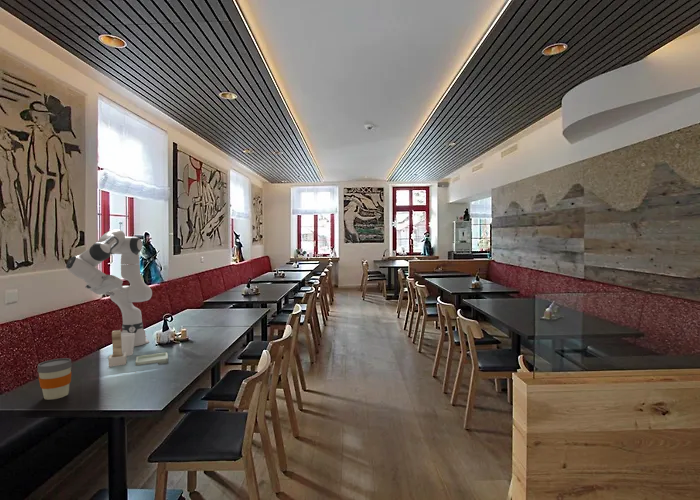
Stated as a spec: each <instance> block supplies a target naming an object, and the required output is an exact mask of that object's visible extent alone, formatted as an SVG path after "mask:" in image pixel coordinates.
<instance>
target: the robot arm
mask: <svg viewBox="0 0 700 500" xmlns="http://www.w3.org/2000/svg"><path fill="white" fill-rule="evenodd" d="M142 249H143V241H142V239H141V238H140V237H138V236H126V234H125V232H124V231H123V230H121V229H118V228H113V229H111V230H109V231H107V232H105V233H103V235H101V237H100V238H99V239H98V240H97V242H95V243H93V244H92V245H91V246H90V247H88V248H87V249H86V250H84V251H82V253H80V254H78V255H73V256H71V257H70V258H69V259H68V260H67V262H66V265H65V269H66V270H68V272H69V273H71V274H72V275H74V276H75V277H77V278H78V279H81V280H83V281H84V282H85V289H87V290H89V291H91V292H93V293H94V294H97V295H102V294H105V295H107V296H109V299H110V300H111V301H112V302H113V303H115V304H116V305H117V306H118V308H119V309H120V312H121V315H122V325H121V328H122V329H121V334H123V333H135V338H134V347H139V346H142V345H143V346H144V345H145V344H150V340H149V339H148V338H147V334H146V330H145V329H144V323H143V319H142V318H143V317H142V311H141V309H140V308H138V307H136V306H135V305H134V304H133V303H142V302H143V303H144V302H146V301H149V300H151V298H152V296H153V290H152V288H151V287H150V285H148V284H146V283H145V281H144V280H143V279H142V276H141V266H140V264H141V263H140V262H141V261H140V254H139V253H140V252H141V251H142ZM111 255H121V257H120V276H121V277H122V279H121V278H119V277H117V276H116V275H113V274H106V273H105V272H103V271H102V270H100V269H99V268H96V267H97V266H98V265H99V264H101V263H103V262H104V261H106V260H107V259H109V258H110V257H111ZM123 280H125V281H128V283H129V285H123V283H124V281H123Z"/></svg>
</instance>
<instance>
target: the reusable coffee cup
mask: <svg viewBox="0 0 700 500" xmlns="http://www.w3.org/2000/svg"><path fill="white" fill-rule="evenodd" d="M72 366H73V364H72V359H71V358H67V357H65V358H62V357H60V358H53V359H49V360H46V361H43V362H42V361H41V362H40V363H38V364H37V371H36V372H37V373H38V382H39V387H40V388H41V391H42V395H43V398H44V400H57V399H60V398H61V399H62V398H64V397H66V396H68V395H69V392H70V384H71V382H72V371H71V370H72Z"/></svg>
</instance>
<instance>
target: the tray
mask: <svg viewBox="0 0 700 500" xmlns="http://www.w3.org/2000/svg"><path fill="white" fill-rule="evenodd" d="M168 354H169V353H168V352H167V351H166V352H159V353H153V354H152V353H151V354H144V355H142V354H141V355H136V358H135V366H143V365H149V364H156V363H157V364H158V365H161V364H163V365H164V364H169V356H168Z"/></svg>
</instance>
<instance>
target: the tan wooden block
mask: <svg viewBox="0 0 700 500" xmlns="http://www.w3.org/2000/svg"><path fill="white" fill-rule="evenodd" d="M121 332H122V329H117V330H112V332H111V339H112V340H111V342H112V343H111V344H112V354H113V357H119V356H122V342H121Z"/></svg>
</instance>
